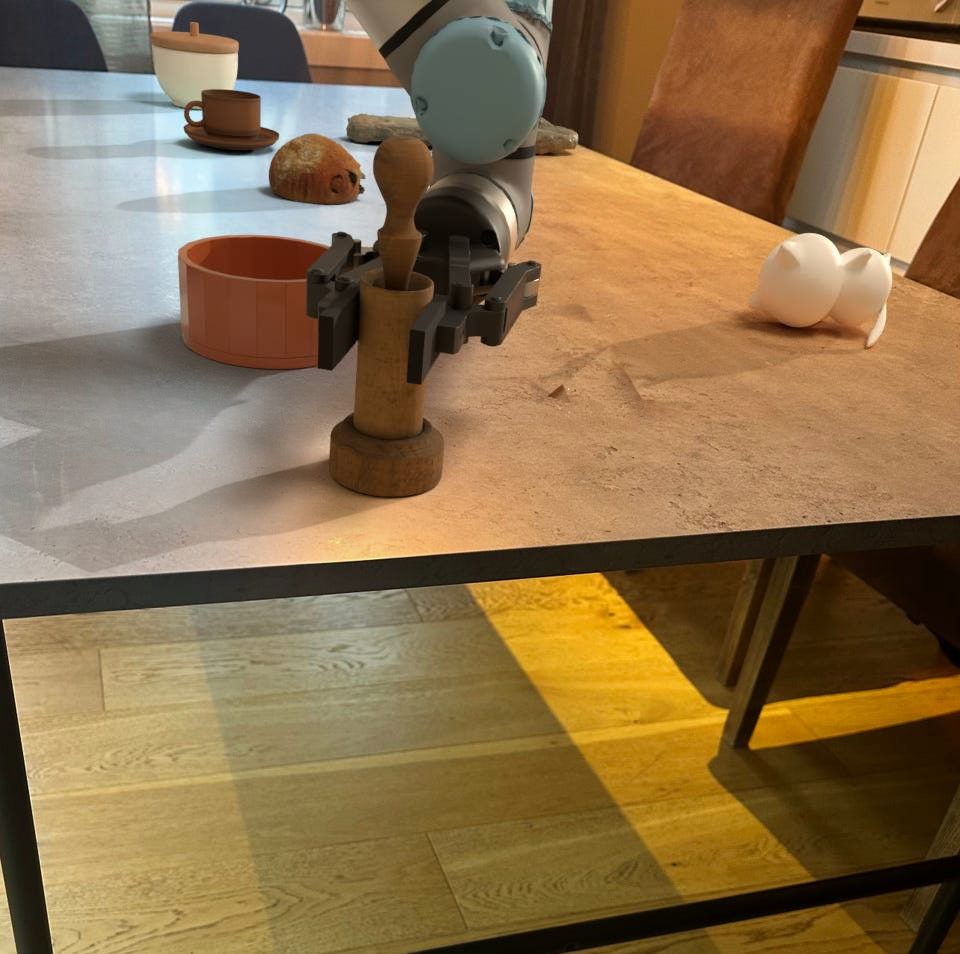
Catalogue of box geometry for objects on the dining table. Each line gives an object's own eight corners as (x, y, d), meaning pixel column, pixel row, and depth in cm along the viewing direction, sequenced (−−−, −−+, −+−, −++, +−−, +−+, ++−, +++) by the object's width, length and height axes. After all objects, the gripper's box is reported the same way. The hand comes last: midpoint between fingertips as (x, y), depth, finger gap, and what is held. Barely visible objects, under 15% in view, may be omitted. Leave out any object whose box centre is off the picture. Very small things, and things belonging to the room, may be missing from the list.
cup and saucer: (228, 159, 133) (227, 104, 130) (164, 140, 139) (161, 87, 135) (298, 152, 142) (299, 100, 138) (235, 135, 147) (234, 84, 144)
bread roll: (311, 214, 129) (285, 144, 126) (384, 189, 124) (360, 115, 121) (270, 230, 121) (242, 155, 118) (347, 203, 116) (320, 124, 113)
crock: (146, 342, 77) (140, 256, 74) (245, 304, 87) (244, 226, 83) (293, 382, 74) (294, 293, 70) (379, 337, 83) (384, 257, 80)
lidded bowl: (244, 104, 170) (243, 23, 164) (234, 116, 160) (232, 31, 154) (162, 95, 169) (157, 14, 163) (146, 107, 158) (141, 21, 152)
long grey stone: (339, 142, 158) (353, 160, 150) (338, 102, 155) (353, 119, 147) (562, 141, 167) (586, 158, 160) (566, 104, 164) (591, 119, 157)
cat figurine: (904, 219, 95) (776, 204, 93) (929, 316, 91) (796, 302, 88) (854, 288, 103) (735, 276, 100) (875, 380, 98) (752, 369, 96)
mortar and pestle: (401, 508, 59) (425, 155, 50) (305, 475, 62) (310, 131, 52) (462, 469, 64) (494, 142, 55) (371, 440, 67) (386, 120, 57)
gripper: (570, 318, 75) (529, 447, 55) (331, 281, 76) (208, 396, 56) (587, 203, 70) (549, 299, 51) (334, 167, 72) (203, 247, 52)
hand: (370, 350), depth 54 cm, fingers closed on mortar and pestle, 4 cm apart
